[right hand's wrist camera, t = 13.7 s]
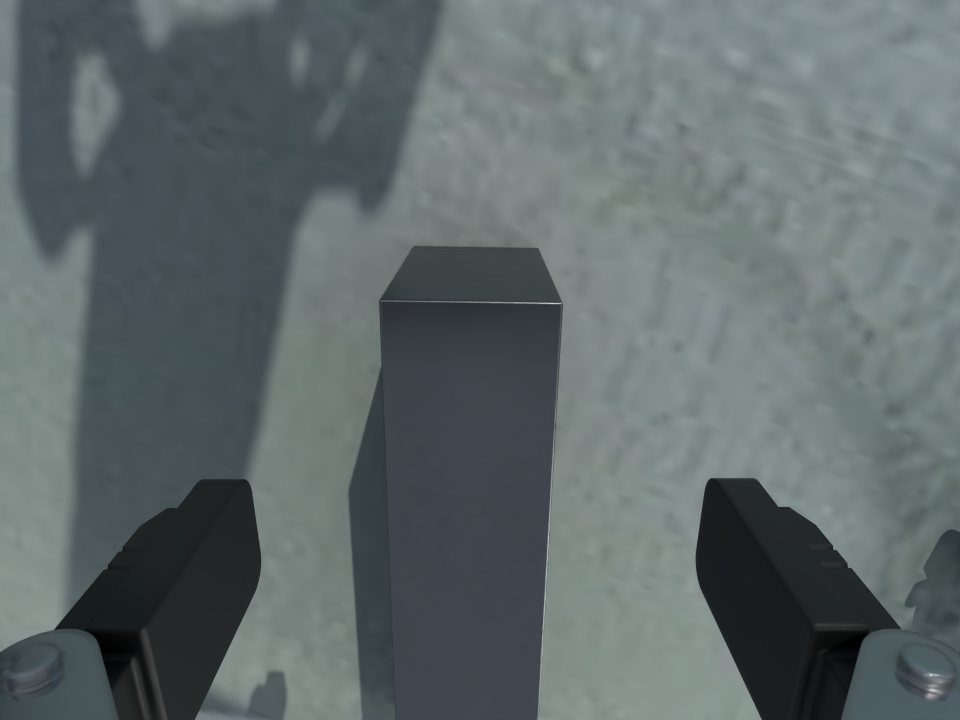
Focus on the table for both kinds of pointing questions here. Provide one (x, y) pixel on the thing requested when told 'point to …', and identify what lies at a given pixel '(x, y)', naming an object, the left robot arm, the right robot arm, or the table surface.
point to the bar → (469, 477)
